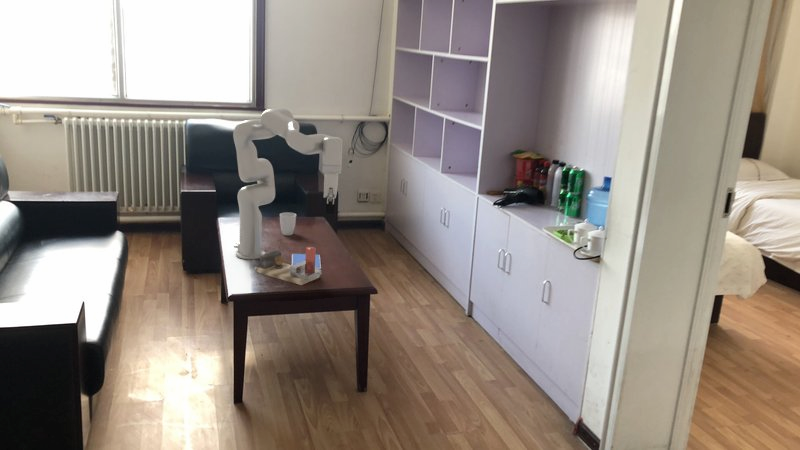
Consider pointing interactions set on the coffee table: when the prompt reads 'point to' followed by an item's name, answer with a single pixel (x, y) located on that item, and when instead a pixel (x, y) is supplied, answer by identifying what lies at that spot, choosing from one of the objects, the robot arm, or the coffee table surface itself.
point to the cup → (287, 223)
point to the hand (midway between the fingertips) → (330, 210)
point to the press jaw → (306, 266)
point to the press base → (279, 268)
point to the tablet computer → (301, 257)
